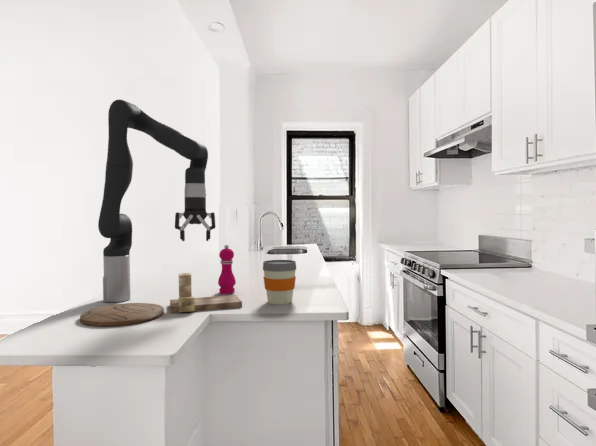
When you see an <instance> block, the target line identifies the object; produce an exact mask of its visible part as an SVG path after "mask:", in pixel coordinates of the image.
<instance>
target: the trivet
mask: <svg viewBox="0 0 596 446" xmlns="http://www.w3.org/2000/svg"><path fill="white" fill-rule="evenodd" d="M164 313H165V309H164V306H163V305H160V304H156V303H149V302H133V303H132V302H126V303H116V304H108V305H104V306H99V307H96V308H91V309H88V310H86V311H84V312H82V313H81V314H80V315H79V321H80V324H81V325H84V326H86V327H87V326H88V327H94V328H95V327H96V328H115V327H127V326H134V325H138V324H139V325H140V324H144V323H148V322H153V321H155V320H157V319H159V318H161V317H163V316H164Z"/></svg>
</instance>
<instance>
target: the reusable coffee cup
mask: <svg viewBox="0 0 596 446" xmlns="http://www.w3.org/2000/svg"><path fill="white" fill-rule="evenodd" d="M296 270H297V263H296V260H293V259H271V260H269V259H268V260H264V261H263V263H262V271H263V274H264V276H263V285H264V289H265V291H266V296H267V298H266V299H267V303H268V304H270V305H288V304H290V303H292V301H293V295H294V294H293V293H294V289H295V286H296V278H297V277H296Z"/></svg>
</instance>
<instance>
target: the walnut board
mask: <svg viewBox="0 0 596 446" xmlns="http://www.w3.org/2000/svg"><path fill="white" fill-rule="evenodd" d="M169 306H170V309H169V310H170V313H171V314H174V313H175V312H176V313H180V312H179V299H176V298H175V299H169ZM236 308H237V309H238V308H243V301H242V300H241V299H240V298H239V296H237V295H236V294H233V295H232V294H231V295H230V294H229V295H219V296H204V297H203V296H202V297H194V311H193V312H198V310H201V311H208V310H209V311H212V310H213V311H214V310H225V309H226V310H227V309H236ZM176 313H175V314H176Z"/></svg>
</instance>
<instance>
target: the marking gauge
mask: <svg viewBox="0 0 596 446" xmlns="http://www.w3.org/2000/svg"><path fill="white" fill-rule="evenodd" d="M177 298H178V299H179V312H178V313H187V312H188V313H189V312H195V311H194V298H195V296H192V273H191V272H180V273H178V297H177Z"/></svg>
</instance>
